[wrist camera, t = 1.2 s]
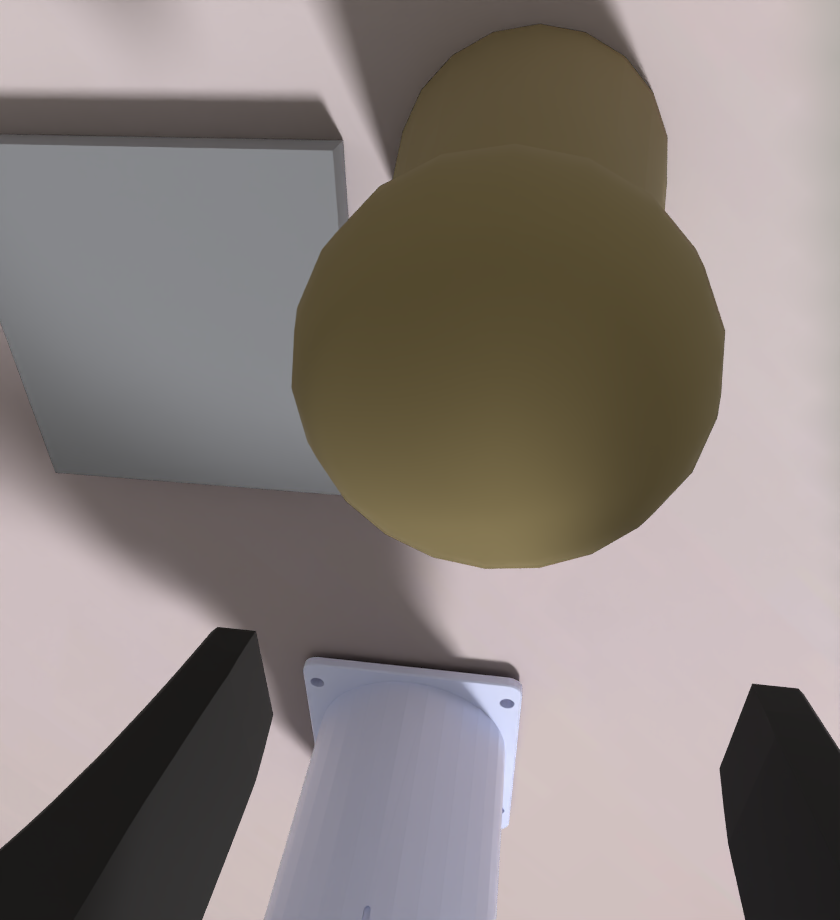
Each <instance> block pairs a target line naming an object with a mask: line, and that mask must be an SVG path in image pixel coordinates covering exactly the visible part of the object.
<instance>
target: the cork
mask: <svg viewBox="0 0 840 920" xmlns="http://www.w3.org/2000/svg"><path fill="white" fill-rule="evenodd" d="M666 186H667V134H666V131H665V128H664V125H663V122H662V118H661V115H660V112H659V109H658V106H657V103H656V100H655V97H654V93H653V92H652V91H651V90H650V88H649V87H648V86H647V84H646V83H645V82H644V80H643V79H642V78H641V77H640V75H639V74H638V73H637V71H636V70H635V69H634V67H633V66H632V65H631V64H630V62H629V61H628V60H627V58H626V57H625V56H623V55H622V54H620V53H618V52H617V51H615V50H613V49H612V48H610V47H609V46H607V45H605V44H604V43H602V42H600V41H599V40H597V39H596V38H594V37H592V36H591V35H589V34H587V33H586V32H581V31H575V30H570V29H565V28H559V27H554V26H548V25H543V24H536V25H531V26H525V27H519V28H514V29H508V30H502V31H497V32H493V33H491V34H489V35H487V36H486V37H484V38H482V39H480V40H479V41H477V42H475V43H473V44H472V45H470V46H468V47H466V48H465V49H463V50H461V51H459V52H457V53H456V54H454V55H452V56H451V57H450V59H449V60H448V61H447V62H446V63H445V64H444V65H443V66H442V68H441V69H440V70H439V71H438V72H437V73H436V74H435V75H434V76H433V78H432V79H431V80H430V81H429V82H428V83H427V84H426V85H425V86H424V88H423V89H422V90H421V92H420V94H419V96H418V98H417V101H416V103H415V105H414V107H413V110H412V112H411V114H410V116H409V118H408V121H407V123H406V125H405V127H404V130H403V132H402V137H401V142H400V146H399V151H398V156H397V161H396V165H395V170H394V175H393V179H392V180H391V181H389V182H387V183H385V184H383V185H381V186H379V187H378V189H377V190H376V191H375V192H374V193H373V194H372V195H371V196H370V197H369V198H368V199H367V200H366V201H365V202H364V203H363V205H362V206H361V207H360V208H359V209H358V210H357V211H356V212H355V213H354V214H353V215H352V216H351V217H350V218H349V219H348V221H347V222H346V223H345V224H344V225H343V226H342V227H341V228H340V229H339V230H338V231H337V232H336V233H335V234H334V236H333V237H332V238H331V239H330V240H329V242H328V243H327V244H326V245H325V246H324V247H323V249H322V250H321V252H320V255H319V257H318V259H317V262H316V264H315V266H314V269H313V271H312V274H311V276H310V278H309V281H308V283H307V285H306V288H305V290H304V292H303V295H302V297H301V299H300V302H299V304H298V307H297V312H296V320H295V328H294V344H293V365H292V385H291V388H292V392H293V395H294V398H295V402H296V405H297V409H298V412H299V415H300V419H301V422H302V425H303V429H304V432H305V436H306V439H307V442H308V444H309V445H310V447H311V449H312V451H313V452H314V454H315V456H316V458H317V459H318V461H319V462H320V464H321V465H322V467H323V468H324V470H325V471H326V473H327V474H328V476H329V477H330V479H331V480H332V482H333V483H334V484H335V486H336V487H337V489H338V490H339V492H340V493H341V495H342V496H343V498H344V499H345V501H346V502H348V503H349V504H350V505H351V506H352V507H353V508H355V509H356V510H357V511H358V512H359V513H361V514H362V515H363V516H364V517H365V518H367V519H368V520H369V521H370V522H371V523H373V524H374V525H375V526H376V527H377V528H378V529H380V530H381V531H382V532H383V533H384V534H386V535H388V536H390V537H392V538H394V539H396V540H398V541H400V542H402V543H404V544H407V545H409V546H411V547H413V548H415V549H417V550H419V551H421V552H423V553H425V554H427V555H429V556H431V557H434V558H439V559H443V560H448V561H452V562H457V563H462V564H466V565H471V566H475V567H480V568H484V569H495V568H540V567H544V566H548V565H552V564H556V563H559V562H563V561H567V560H571V559H575V558H578V557H582V556H586V555H590V554H593V553H594V552H596V551H598V550H600V549H601V548H603V547H605V546H607V545H608V544H610V543H612V542H614V541H615V540H617V539H619V538H621V537H622V536H624V535H626V534H628V533H629V532H631V531H633V530H635V529H636V528H638V527H639V526H640V525H642V524H643V523H644V522H645V521H646V520H647V519H648V518H649V517H650V516H651V515H652V514H653V513H654V512H655V511H656V510H657V509H658V508H659V507H660V506H661V505H662V504H663V503H664V502H665V501H666V500H667V498H668V497H669V496H670V495H671V494H672V493H673V492H674V491H675V490H676V489H677V488H678V487H679V486H680V485H681V484H682V483H683V482H684V481H685V479H686V478H687V477H688V476H689V475H690V474H691V473H692V472H693V470H694V468H695V465H696V463H697V461H698V459H699V457H700V454H701V452H702V450H703V448H704V446H705V443H706V441H707V439H708V437H709V435H710V432H711V430H712V428H713V426H714V424H715V421H716V419H717V416H718V410H719V404H720V398H721V387H722V371H723V356H724V340H725V329H724V326H723V323H722V320H721V317H720V314H719V311H718V308H717V304H716V301H715V298H714V295H713V292H712V289H711V286H710V283H709V280H708V277H707V274H706V270H705V267H704V265H703V263H702V261H701V259H700V257H699V255H698V253H697V251H696V249H695V247H694V246H693V245H692V244H691V242H690V241H689V240H688V239H687V237H686V236H685V235H684V234H683V233H682V231H681V230H680V229H679V228H678V226H677V225H676V224H675V223H674V222H673V220H672V219H671V218H670V217H669V215H668V214H667V213H666V212H665V199H666Z"/></svg>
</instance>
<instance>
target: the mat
mask: <svg viewBox="0 0 840 920" xmlns="http://www.w3.org/2000/svg"><path fill="white" fill-rule="evenodd" d="M347 221H348V204H347V189H346V175H345V160H344V146H343V140H295V139H239V138H183V137H127V136H71V135H15V134H0V323H1V325H2V328H3V331H4V333H5V336H6V339H7V342H8V344H9V347H10V350H11V352H12V355H13V358H14V361H15V363H16V366H17V369H18V372H19V374H20V377H21V380H22V382H23V385H24V388H25V391H26V393H27V396H28V399H29V402H30V404H31V407H32V410H33V412H34V415H35V418H36V421H37V423H38V426H39V429H40V431H41V434H42V437H43V440H44V442H45V445H46V448H47V451H48V453H49V456H50V459H51V461H52V464H53V467H54V470H55V472H56V473H66V474H79V475H91V476H104V477H117V478H129V479H142V480H154V481H167V482H180V483H192V484H205V485H218V486H230V487H243V488H256V489H268V490H281V491H294V492H306V493H319V494H331V495H341V493H340V492H339V490H338V489H337V487H336V486H335V484H334V483H333V482H332V480H331V479H330V477H329V476H328V474H327V473H326V471H325V470H324V468H323V467H322V465H321V464H320V462H319V461H318V459H317V458H316V456H315V454H314V452H313V451H312V449H311V447H310V445H309V444H308V442H307V439H306V436H305V432H304V429H303V425H302V422H301V419H300V415H299V412H298V409H297V405H296V402H295V398H294V395H293V392H292V388H291V385H292V365H293V344H294V328H295V320H296V312H297V307H298V304H299V302H300V299H301V297H302V295H303V292H304V290H305V288H306V285H307V283H308V281H309V278H310V276H311V274H312V271H313V269H314V266H315V264H316V262H317V259H318V257H319V255H320V252H321V250H322V249H323V247H324V246H325V245H326V244H327V243H328V242H329V240H330V239H331V238H332V237H333V236H334V234H335V233H336V232H337V231H338V230H339V229H340V228H341V227H342V226H343V225H344V224H345V223H346V222H347Z"/></svg>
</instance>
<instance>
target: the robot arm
mask: <svg viewBox="0 0 840 920" xmlns="http://www.w3.org/2000/svg"><path fill="white" fill-rule="evenodd" d="M303 674H304V680H305V686H306V692H307V699H308V705H309V711H310V717H311V724H312V730H313V736H314V743H315V746H314V749H313V753H312V756H311V760H310V763H309V766H308V770H307V773H306V777H305V780H304V783H303V787H302V790H301V794H300V797H299V801H298V804H297V807H296V811H295V814H294V818H293V821H292V825H291V828H290V831H289V835H288V838H287V842H286V845H285V849H284V852H283V855H282V859H281V862H280V866H279V869H278V872H277V876H276V879H275V883H274V886H273V890H272V893H271V896H270V900H269V903H268V907H267V910H266V914H265V917H264V920H496V914H497V896H498V878H499V860H500V842H501V829H503V828H505V827H507V826H508V824H509V817H510V807H511V798H512V788H513V778H514V769H515V759H516V749H517V739H518V730H519V720H520V710H521V701H522V685H521V683H520V682H519V681H517V680H515V679H513V678H509V677H500V676H490V675H481V674H472V673H462V672H453V671H444V670H434V669H425V668H416V667H406V666H397V665H388V664H378V663H369V662H360V661H351V660H341V659H332V658H323V657H312V658H309V659H307V661H306V662H305V665H304V668H303ZM272 717H273V712H272V707H271V702H270V697H269V692H268V687H267V683H266V678H265V673H264V668H263V663H262V659H261V654H260V649H259V644H258V639H257V634H256V631H250V630H240V629H231V628H221V627H217V628H216V629H215V630H213V631H212V632H211V633H210V634H209V635H208V637H207V638H206V639H205V640H204V641H203V642H202V644H201V645H200V646H199V647H198V648H197V649H196V650H195V652H194V653H193V654H192V655H191V656H190V657H189V659H188V660H187V661H186V662H185V663H184V664H183V665H182V667H181V668H180V669H179V670H178V671H177V672H176V673H175V675H174V676H173V677H172V678H171V679H170V680H169V681H168V682H167V684H166V685H165V686H164V687H163V688H162V689H161V690H160V691H159V693H158V694H157V695H156V696H155V697H154V698H153V699H152V700H151V701H150V703H149V704H148V705H147V706H146V707H145V708H144V709H143V710H142V711H141V712H140V713H139V714H138V715H137V716H136V718H135V719H134V720H133V721H132V722H131V723H130V724H129V725H128V726H127V727H126V728H125V729H124V730H123V731H122V732H121V734H120V735H119V736H118V737H117V738H116V739H115V740H114V741H113V742H112V743H111V744H110V745H109V746H108V747H107V748H106V749H105V750H104V751H103V752H102V753H101V754H100V755H99V757H98V758H97V759H96V760H94V761H93V762H92V763H91V764H90V765H89V766H88V767H87V768H86V769H85V770H84V771H83V772H82V773H81V774H80V775H79V776H78V777H77V778H76V779H75V780H74V781H73V782H72V783H71V784H70V785H69V786H68V787H67V788H66V789H65V790H64V791H63V792H62V793H61V794H60V795H59V796H58V797H57V798H56V799H55V800H54V801H53V802H52V803H51V804H49V805H48V806H47V807H46V808H45V809H44V810H43V811H42V812H41V813H40V814H39V815H38V816H37V817H35V818H34V819H33V820H32V821H31V822H30V823H29V824H28V825H27V826H26V827H25V828H23V829H22V830H21V831H20V832H19V833H18V834H17V835H16V836H14V837H13V838H12V839H11V840H10V841H9V842H8V843H6V844H5V845H4V846H3V847H2V848H1V849H0V920H202V918H203V916H204V913H205V911H206V908H207V906H208V903H209V901H210V898H211V895H212V893H213V890H214V888H215V885H216V883H217V880H218V877H219V875H220V872H221V870H222V867H223V865H224V862H225V860H226V857H227V854H228V852H229V849H230V847H231V844H232V842H233V839H234V836H235V834H236V831H237V829H238V826H239V823H240V821H241V818H242V816H243V813H244V810H245V808H246V805H247V803H248V800H249V797H250V795H251V792H252V789H253V787H254V784H255V781H256V778H257V774H258V771H259V767H260V763H261V760H262V756H263V752H264V749H265V745H266V741H267V737H268V733H269V729H270V725H271V721H272ZM720 777H721V786H722V796H723V805H724V814H725V822H726V830H727V838H728V845H729V849H730V854H731V859H732V863H733V868H734V872H735V876H736V881H737V885H738V890H739V894H740V899H741V903H742V907H743V912H744V916H745V920H840V749H839V748H838V746H837V745H836V743H835V742H834V740H833V739H832V737H831V736H830V734H829V733H828V731H827V730H826V728H825V727H824V725H823V723H822V722H821V720H820V719H819V717H818V716H817V714H816V713H815V711H814V710H813V708H812V706H811V705H810V703H809V702H808V700H807V699H806V697H805V696H804V694H803V693H802V692H801V691H800V690H799V689H797V688H787V687H778V686H768V685H759V684H752V686H751V688H750V691H749V694H748V696H747V699H746V701H745V704H744V707H743V709H742V712H741V714H740V717H739V719H738V722H737V725H736V727H735V730H734V732H733V735H732V738H731V740H730V743H729V745H728V748H727V751H726V753H725V756H724V758H723V761H722V763H721V766H720Z"/></svg>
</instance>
